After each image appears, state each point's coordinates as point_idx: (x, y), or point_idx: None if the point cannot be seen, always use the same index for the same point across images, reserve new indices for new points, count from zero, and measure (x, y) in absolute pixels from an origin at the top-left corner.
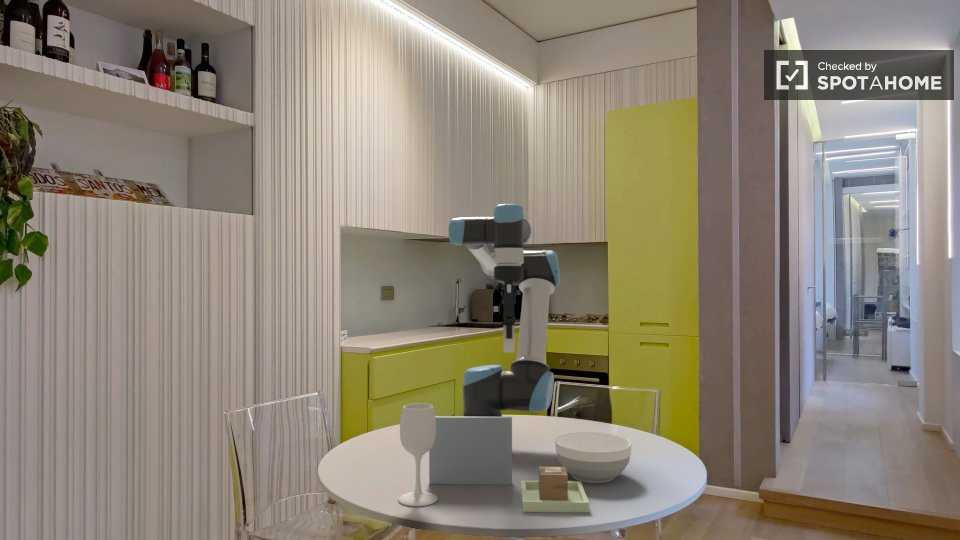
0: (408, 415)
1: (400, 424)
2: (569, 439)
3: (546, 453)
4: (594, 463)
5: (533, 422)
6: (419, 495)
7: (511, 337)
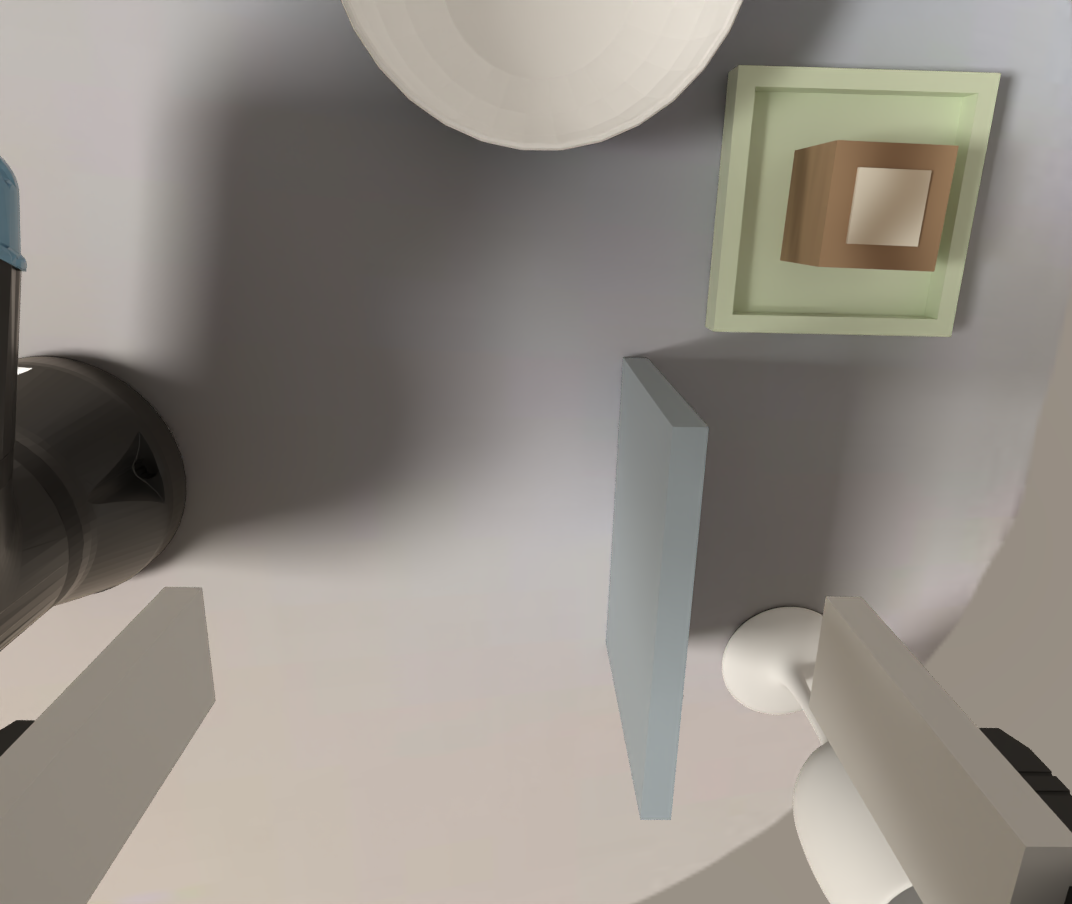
0: None
1: None
2: (379, 47)
3: (180, 169)
4: None
5: None
6: (809, 666)
7: (1012, 747)
